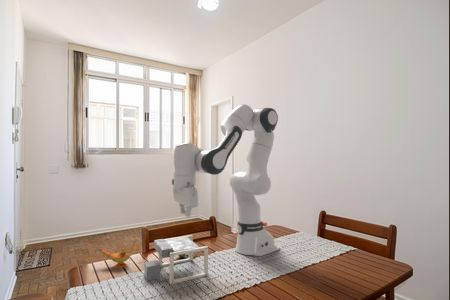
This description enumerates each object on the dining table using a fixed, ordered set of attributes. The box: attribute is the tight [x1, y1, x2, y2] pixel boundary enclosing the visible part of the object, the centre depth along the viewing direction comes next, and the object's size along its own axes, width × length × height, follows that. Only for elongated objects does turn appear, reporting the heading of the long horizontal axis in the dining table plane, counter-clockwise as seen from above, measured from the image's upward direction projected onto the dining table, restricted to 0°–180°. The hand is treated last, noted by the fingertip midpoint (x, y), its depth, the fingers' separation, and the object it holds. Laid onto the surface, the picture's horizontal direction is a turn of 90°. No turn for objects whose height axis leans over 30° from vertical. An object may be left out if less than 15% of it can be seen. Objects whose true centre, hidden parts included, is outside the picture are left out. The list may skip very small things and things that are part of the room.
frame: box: [158, 234, 209, 285], centre depth 103 cm, size 15×18×11 cm
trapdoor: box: [153, 237, 200, 259], centre depth 102 cm, size 14×14×3 cm
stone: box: [143, 259, 161, 281], centre depth 98 cm, size 5×5×5 cm
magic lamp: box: [96, 240, 139, 269], centre depth 108 cm, size 7×18×11 cm, turn 88°
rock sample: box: [177, 252, 197, 259], centre depth 118 cm, size 10×8×9 cm
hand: (185, 215), depth 105 cm, fingers open, 5 cm apart
